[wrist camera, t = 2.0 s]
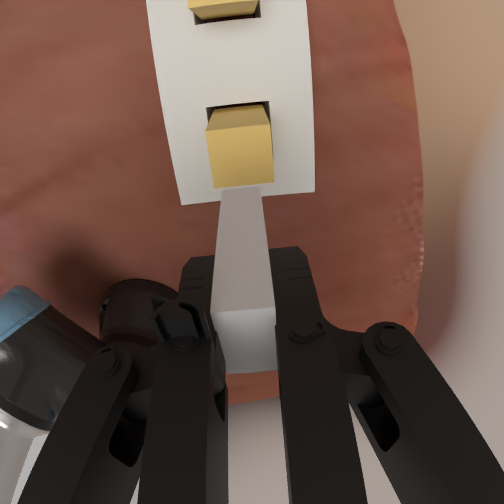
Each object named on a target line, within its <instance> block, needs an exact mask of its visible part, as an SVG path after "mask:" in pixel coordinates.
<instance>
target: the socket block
mask: <svg viewBox="0 0 504 504" xmlns="http://www.w3.org/2000/svg"><path fill="white" fill-rule="evenodd" d="M146 3H147V12H148V20H149V27H150V35H151V42H152V49H153V56H154V62H155V69H156V75H157V81H158V87H159V93H160V99H161V105H162V110H163V116H164V121H165V127H166V132H167V137H168V142H169V147H170V152H171V157H172V162H173V167H174V172H175V177H176V181H177V186H178V191H179V195H180V200H181V204H182V205H188V204H196V203H204V202H213V201H221V195H222V190H227V189H236V188H246V187H256V186H260V191H261V196H272V195H283V194H295V193H307V192H315V161H314V119H313V94H312V74H311V58H310V44H309V31H308V19H307V8H306V0H259V1H258V3H257V6H256V8H255V18H249V19H238V20H228V21H220V22H212V23H204V20H202V19H201V18H200V17H198V16H197V15H196V14H195V13H193V12H192V11H191V10H190V9H188V0H146ZM259 101H263V103H264V110H265V113H266V115H267V117H268V120H269V122H270V127H271V140H272V154H273V168H274V183H264V184H253V185H243V186H234V187H225V188H216V189H214V185H213V178H212V172H211V166H210V160H209V153H208V147H207V140H206V134H205V130H206V128H207V125H208V123H209V121H210V118H211V116H212V113H213V111H214V109H215V106H221V105H229V104H238V103H248V102H259Z"/></svg>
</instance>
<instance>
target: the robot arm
mask: <svg viewBox="0 0 504 504" xmlns="http://www.w3.org/2000/svg"><path fill="white" fill-rule="evenodd" d="M50 304H51V302H49V301H45V300H44V299H42V298H41V297H40V296H38V295H37V294H36V293H34V292H33V291H31V290H30V289H29V288H27V287H25V286H15V287H13V288H11V289H10V290H9V291H8V292H7V293H6V294H5V295H4V296H3V297H2V299H1V300H0V504H11V501H12V497H13V494H14V491H15V488H16V485H17V482H18V479H19V476H20V473H21V470H22V468H23V465H24V462H25V459H26V457H27V454H28V451H29V449H30V446H31V444H32V441H33V438H34V437H36V436H40V435H44V434H48V433H49V435H48V437H47V439H46V441H45V443H44V445H43V447H42V449H41V451H40V453H39V455H38V457H37V460H36V462H35V464H34V467H33V468H32V471H31V473H30V475H29V477H28V480H27V482H26V484H25V486H24V489H23V491H22V494H21V496H20V499H19V501H18V503H17V504H130V501H131V499H132V496H133V493H134V490H135V488H136V485H137V482H138V480H139V477H140V481H139V491H138V503H137V504H228V389H227V385H226V381H225V367H226V371H227V374H236V373H250V372H263V371H274V370H278V376H279V393H280V401H281V412H282V423H283V434H284V446H285V458H286V468H287V481H288V494H289V504H368V502H367V497H366V490H365V485H364V479H363V473H362V468H361V463H360V458H359V453H358V447H357V442H356V437H355V432H354V427H353V422H352V417H351V413H350V408H349V404H348V403H350V405H351V407H352V409H353V411H354V413H355V415H356V417H357V419H358V420H359V422H360V424H361V426H362V428H363V430H364V432H365V434H366V436H367V438H368V440H369V442H370V444H371V445H372V447H373V449H374V451H375V453H376V455H377V457H378V459H379V461H380V463H381V465H382V467H383V469H384V471H385V473H386V475H387V477H388V478H389V481H390V482H391V484H392V486H393V488H394V490H395V492H396V494H397V496H398V498H399V500H400V502H401V504H504V471H503V470H502V468H501V466H500V464H499V463H498V461H497V459H496V458H495V456H494V454H493V453H492V451H491V450H490V448H489V446H488V445H487V443H486V441H485V440H484V438H483V437H482V435H481V433H480V432H479V430H478V429H477V427H476V425H475V424H474V422H473V421H472V419H471V418H470V416H469V415H468V413H467V412H466V410H465V409H464V407H463V406H462V404H461V403H460V401H459V400H458V398H457V397H456V395H455V394H454V393H453V391H452V389H451V388H450V387H449V385H448V384H447V382H446V381H445V380H444V378H443V377H442V375H441V374H440V372H439V371H438V370H437V368H436V367H435V366H434V364H433V363H432V361H431V360H430V359H429V357H428V356H427V354H426V353H425V352H424V351H423V349H422V348H421V346H420V345H419V344H418V343H417V341H416V339H415V338H414V337H413V336H412V334H411V333H410V332H409V331H408V330H407V329H406V328H405V327H404V326H401V325H399V324H397V323H394V322H386V321H385V322H380V323H375V324H374V325H372V326H371V327H369V328H368V329H367V331H366V332H365V333H362V332H354V331H347V330H343V329H339V328H337V327H335V326H333V325H332V324H330V323H329V322H328V321H327V320H326V319H325V318H324V316H323V314H322V312H321V308H320V305H319V301H318V297H317V293H316V289H315V285H314V282H313V278H312V274H311V270H310V268H309V263H308V260H307V256H306V254H305V253H304V252H303V251H302V250H301V249H300V248H299V247H298V246H296V247H285V248H274V249H268V244H267V236H266V229H265V221H264V213H263V206H262V198H261V191H260V186H256V187H246V188H236V189H227V190H222V195H221V204H220V213H219V223H218V232H217V242H216V252H215V255H211V256H201V257H191V258H190V259H189V261H188V262H187V263H186V264H185V266H184V267H183V270H182V275H181V281H180V284H179V291H178V293H176V292H175V291H173V290H172V289H170V288H168V287H166V286H164V285H161V284H159V283H156V282H152V281H148V280H139V279H132V280H125V281H121V282H118V283H116V284H114V285H112V286H111V287H110V288H109V289H108V290H107V291H106V292H105V294H104V296H103V299H102V301H101V304H100V307H99V339H98V338H96V337H95V336H93V335H92V334H90V333H89V332H87V331H86V330H84V329H83V328H81V327H80V326H79V325H77V324H76V323H74V322H73V321H71V320H70V319H69V318H67V317H66V316H65V315H63V314H62V313H61V312H59V311H58V310H56V309H55V308H54V307H53V306H51V305H50ZM55 420H56V421H55ZM54 422H55V423H54Z"/></svg>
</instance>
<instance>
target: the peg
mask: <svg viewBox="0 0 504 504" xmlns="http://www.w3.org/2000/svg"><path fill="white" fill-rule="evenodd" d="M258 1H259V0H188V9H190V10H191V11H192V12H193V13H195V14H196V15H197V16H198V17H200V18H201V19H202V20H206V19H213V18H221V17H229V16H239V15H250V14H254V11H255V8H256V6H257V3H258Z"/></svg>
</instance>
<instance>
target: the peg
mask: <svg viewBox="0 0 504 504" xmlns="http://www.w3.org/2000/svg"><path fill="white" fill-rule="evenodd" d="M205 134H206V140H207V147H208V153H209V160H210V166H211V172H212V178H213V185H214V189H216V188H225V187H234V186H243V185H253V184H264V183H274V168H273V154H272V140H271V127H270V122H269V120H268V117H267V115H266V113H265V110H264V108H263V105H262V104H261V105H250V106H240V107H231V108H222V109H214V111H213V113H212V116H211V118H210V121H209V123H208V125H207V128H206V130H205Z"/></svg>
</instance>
